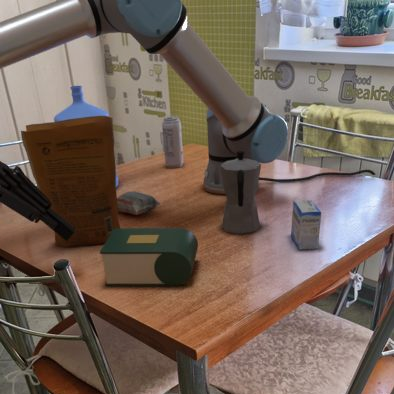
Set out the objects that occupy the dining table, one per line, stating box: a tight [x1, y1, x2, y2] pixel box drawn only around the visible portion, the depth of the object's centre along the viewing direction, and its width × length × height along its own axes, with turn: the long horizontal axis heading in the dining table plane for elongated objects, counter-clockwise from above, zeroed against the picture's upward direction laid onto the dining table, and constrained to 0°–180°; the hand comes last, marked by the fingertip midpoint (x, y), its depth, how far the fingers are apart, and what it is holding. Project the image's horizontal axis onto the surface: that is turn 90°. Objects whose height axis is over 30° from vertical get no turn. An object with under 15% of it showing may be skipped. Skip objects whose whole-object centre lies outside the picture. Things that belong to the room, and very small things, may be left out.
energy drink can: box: [161, 115, 184, 169], centre depth 169 cm, size 6×6×15 cm
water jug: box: [53, 85, 119, 188], centre depth 150 cm, size 16×16×28 cm
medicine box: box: [290, 199, 322, 251], centre depth 115 cm, size 8×4×9 cm, turn 5°
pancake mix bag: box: [20, 115, 121, 248], centre depth 116 cm, size 7×19×28 cm, turn 96°
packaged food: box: [117, 190, 161, 216], centre depth 138 cm, size 9×12×5 cm
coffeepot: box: [220, 151, 262, 235], centre depth 121 cm, size 15×9×18 cm, turn 176°
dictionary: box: [99, 227, 199, 287], centre depth 107 cm, size 18×12×8 cm, turn 84°
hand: (71, 235), depth 106 cm, fingers closed
